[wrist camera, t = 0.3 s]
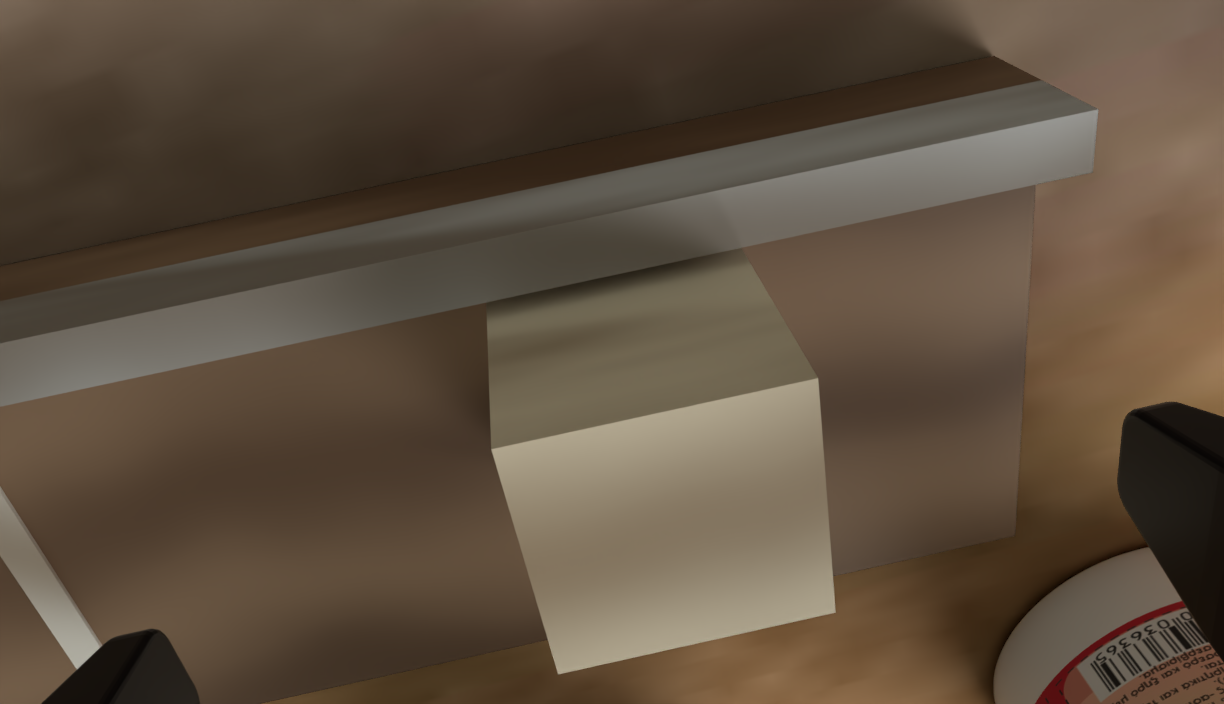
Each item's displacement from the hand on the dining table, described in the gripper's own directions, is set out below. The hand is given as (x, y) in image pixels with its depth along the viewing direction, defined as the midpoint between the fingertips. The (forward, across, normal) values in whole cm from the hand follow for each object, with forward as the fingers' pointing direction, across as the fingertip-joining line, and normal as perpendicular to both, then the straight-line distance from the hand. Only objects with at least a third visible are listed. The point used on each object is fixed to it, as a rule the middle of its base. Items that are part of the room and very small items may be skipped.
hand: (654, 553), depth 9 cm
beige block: (+11, -1, +5) cm, 13 cm away
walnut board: (+13, +4, +6) cm, 15 cm away
